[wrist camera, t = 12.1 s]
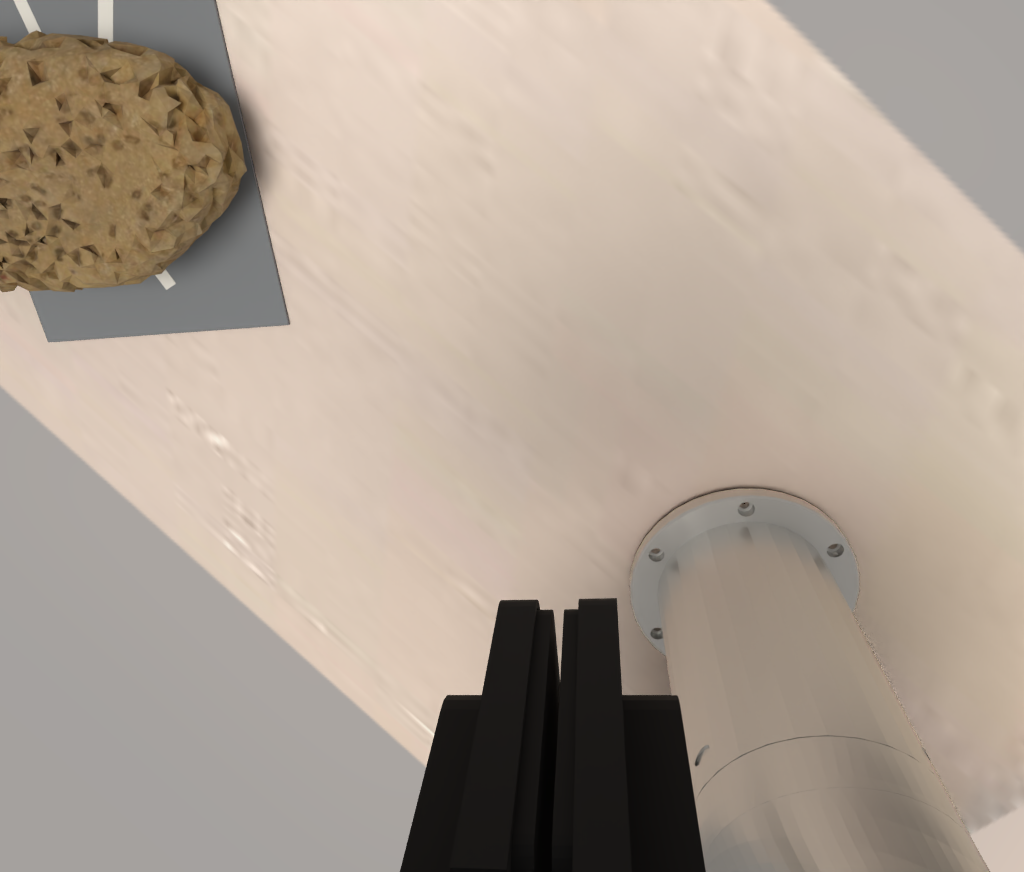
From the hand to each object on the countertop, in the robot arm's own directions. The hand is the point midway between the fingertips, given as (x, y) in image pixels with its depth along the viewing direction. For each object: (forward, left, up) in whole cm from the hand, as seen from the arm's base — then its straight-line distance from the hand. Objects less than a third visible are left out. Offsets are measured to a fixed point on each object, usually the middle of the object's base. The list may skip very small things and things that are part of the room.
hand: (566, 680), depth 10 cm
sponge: (+8, +25, -27) cm, 38 cm away
